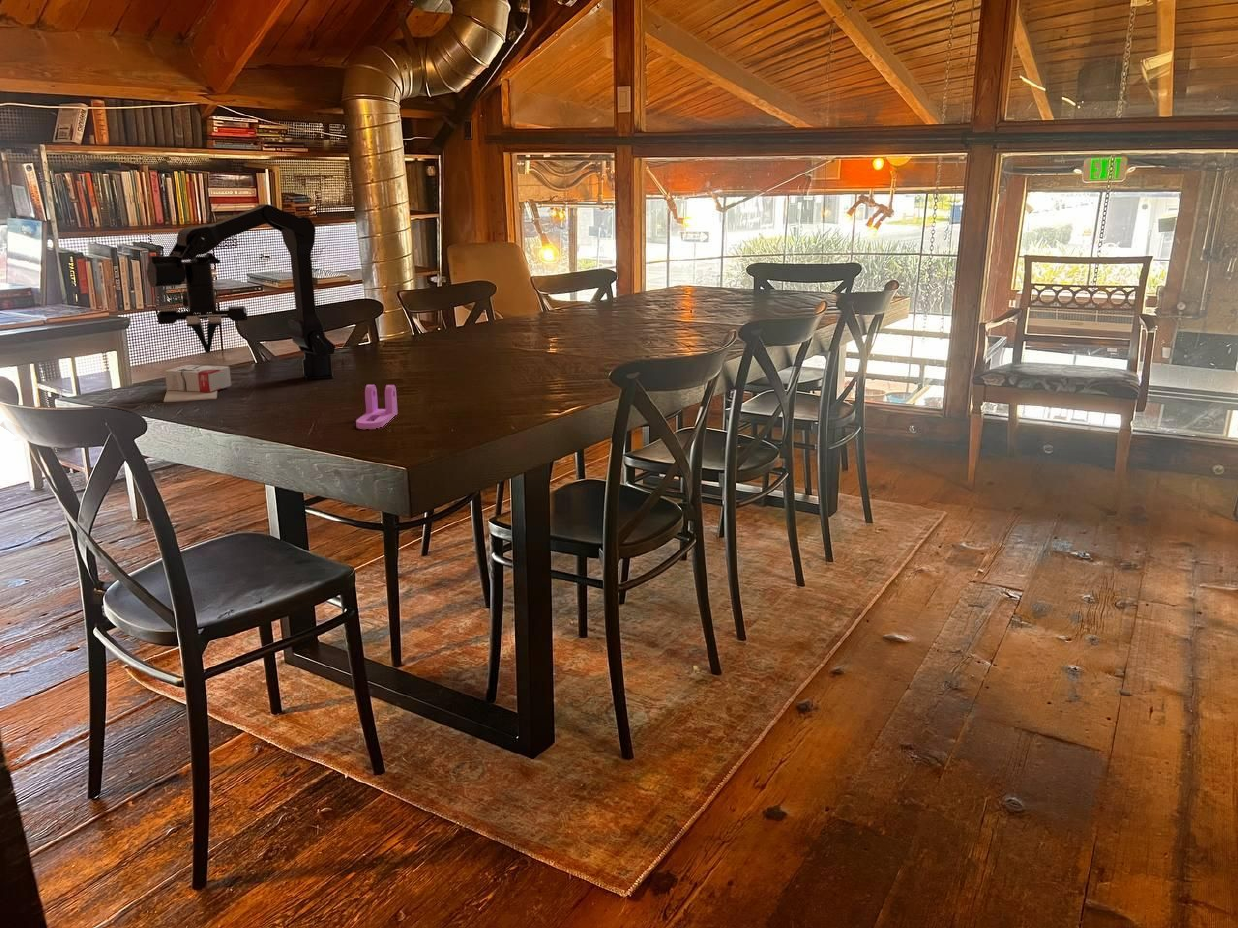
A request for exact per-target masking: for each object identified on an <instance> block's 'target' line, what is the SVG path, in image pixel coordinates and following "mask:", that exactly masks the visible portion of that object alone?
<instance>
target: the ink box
mask: <svg viewBox="0 0 1238 928" xmlns="http://www.w3.org/2000/svg"><path fill="white" fill-rule="evenodd" d="M164 374H165V375H164V376H165V385H166V391H167V390H179V391H196V392H213V391H216V390H217V391H219V390H223V389H226V388H229V387H231V386H232V379H231V377H232V376H231V370H230V366H223V365H222V366H220V365H219V366H218V365H198V364H195V365H194V364H185V365H182V366H178V367H174V368H171V369H170V368H169V369H167V370H164Z"/></svg>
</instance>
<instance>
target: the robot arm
mask: <svg viewBox="0 0 1238 928" xmlns="http://www.w3.org/2000/svg"><path fill="white" fill-rule="evenodd" d="M265 224H266V225H268V226H270V227H271V228H273V229H274V230H277V231H279V232H281V236H282V239H283V243H284V245H285V246H286V249H287V251H288V253H289V256H290V263H291V273H292V274H291V275H292V283H293V295H294V303H295V304H294V305H295V316H294V318H293V319H288V321H287V322H288V327H289V334H288V336H289V337H291V340H292V341H293V343H295V345H296V346H298V348H299V351H300V352H301V353H303V356H304V358H302V369H303V370H302V371H303V372H302V373H303V376H304V377H305V378H306V380H319V379H333V378H334V373H333V368H332V366H333V365H332V355H334V353H335V350H336V345H335V344H334V343H333V342H331V341H330V340H329V339H328V338H327V337H326V335H325V329H324V326H323V322H322V321H321V319H320V317H319V316H318V314H317V308H316V299H315V298H316V297H315V288H314V277H313V276H314V275H313V265H312V257H311V255H312V251H313V248H314V246H315V243H316V241H315V239H316V227H315V224H314V222H313V221H312V220H311V219H310V218H308V217H305V216H296V215H295V214H292V213H289V212H288V211H284V210H282V209H280V208H277V207H275V206H274V205H273V204H266V203H265V204H264V203H261V204H259V205H257V206H255V207H254V208H251V209H247V210H245V211H242V212H240V213H237V214H234V215H232V216H230V217H227V218H224V219H221V220H219V221H216V222H213V223H207V224H202V225H201V224H200V225H194V226H188V227H184V228H182V229H180V230H179V231H178V232H177V236H176V243H175V244H174V246H173V248H172V249H171V251H170V253H169V255H163V256H162V255H161V256H158V255H149V256H148V263H147V266H146V267H147V268H146V278H147V280H148V282H149V283H148V284H149V285H150V287H152V288H162V287H163V288H166V287H168V288H169V287H178V286H181V285H182V283H184V282H185V287H186V293H181V299H182V306H183V308H184V309H188V311H178V308H163V309H162V308H161V309H159V311H158V312H157V321H158V324H159V325H174V324H175V323H177V321H183V320H184V321H185V322H186V327H188V328H192V330H193V331H194V332H195V334H196V336H197V337H198V339H199V340H200V341H199V342H200V343H201V345H202V346H203V348H204V351H205V353H210V352H211V347H212V344H213V338H214V335H215V332H216V330H217V326H218V327H219V326H222V324H223V321H222V319H230V320H231V321H232V322H237V321H238V322H243V321H248V312H247V307H245V305H241V306H240V305H239V306H237V305H236V306H228V307H227V309H221V310H220V309H218V308H217V300H216V296H215V295H216V294H215V289H214V281H213V272H212V264H215V265H216V264H220V263H221V260H220V259H219V258H216V256H214V254H213V253H212V252H210V251H212V250H213V249H215V248H217V247H218V246H219V245H220V244H221V243H222V242H224V241H225V240H227V239H229V238H231V237H234V236H237V235H240V234H241V233H242V234H243V233H244V232H247V231H249V230H252V229H255V228H257V227H260V226H262V225H265ZM199 255H203V256H199ZM217 309H218V310H217ZM205 319H206V320H207V328H206V329H207V335H205V331H204V328H203V321H202V320H205ZM206 336H207V339H206Z"/></svg>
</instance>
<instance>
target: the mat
mask: <svg viewBox="0 0 1238 928" xmlns="http://www.w3.org/2000/svg"><path fill="white" fill-rule="evenodd" d="M217 398H218V390H216V391H213V392H196V391H179V390H167V389H166V393H165V396H164V399H163V403H175V402H189V401H190V402H191V401H204V400H205V401H206V400H216V399H217Z"/></svg>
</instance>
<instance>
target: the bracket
mask: <svg viewBox="0 0 1238 928" xmlns="http://www.w3.org/2000/svg"><path fill="white" fill-rule="evenodd" d="M397 397H398V396H397V388H396V386H395V384H386V385H385V388H384V403H385V405H384V406H385V408H379V407H378V406H379V404H378V390H377V387H376V385H375V384H366V386H365V389H364V399H365V413H363V415H361V416H360V417H358V418H357V419H356V420H355V424H356V429H359V430H366V429H369V430H377V429H376V428H378V429H381V428H380V427H382V428H384V427H385V426H386V425H387V424H386V423H388V422H389V421H390V420H391V419H392V418H393V417H394V416H395V415H397V414H398V412H399V411H398V401H397ZM397 416H398V415H397ZM393 419H394V418H393ZM393 419H392V420H393ZM373 420H374V421H373ZM392 420H391V421H392ZM391 421H390V422H391ZM390 422H389V423H390ZM385 424H386V425H385ZM384 425H385V426H384ZM383 426H384V427H383Z"/></svg>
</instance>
